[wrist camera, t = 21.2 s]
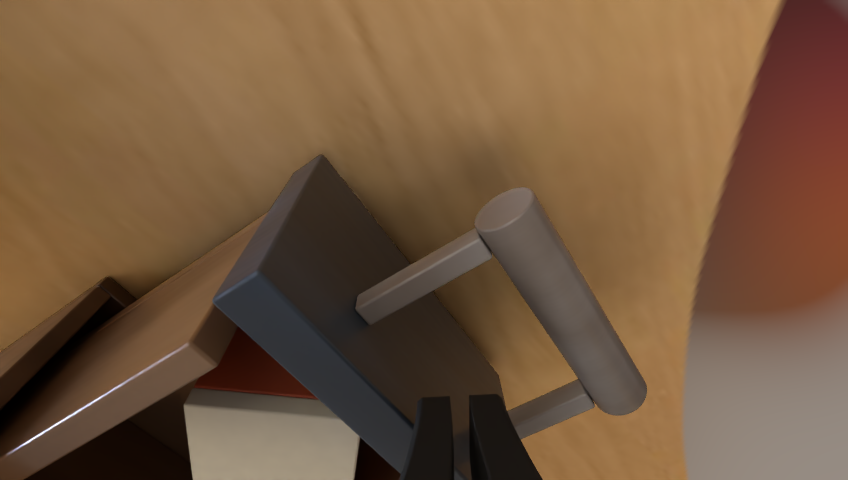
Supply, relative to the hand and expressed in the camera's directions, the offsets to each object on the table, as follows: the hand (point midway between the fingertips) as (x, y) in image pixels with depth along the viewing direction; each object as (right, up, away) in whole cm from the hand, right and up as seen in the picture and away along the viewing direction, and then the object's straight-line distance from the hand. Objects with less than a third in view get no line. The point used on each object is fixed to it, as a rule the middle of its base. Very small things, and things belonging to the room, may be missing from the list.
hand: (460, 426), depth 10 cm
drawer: (-4, +1, +7) cm, 8 cm away
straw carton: (-5, -1, +6) cm, 8 cm away
